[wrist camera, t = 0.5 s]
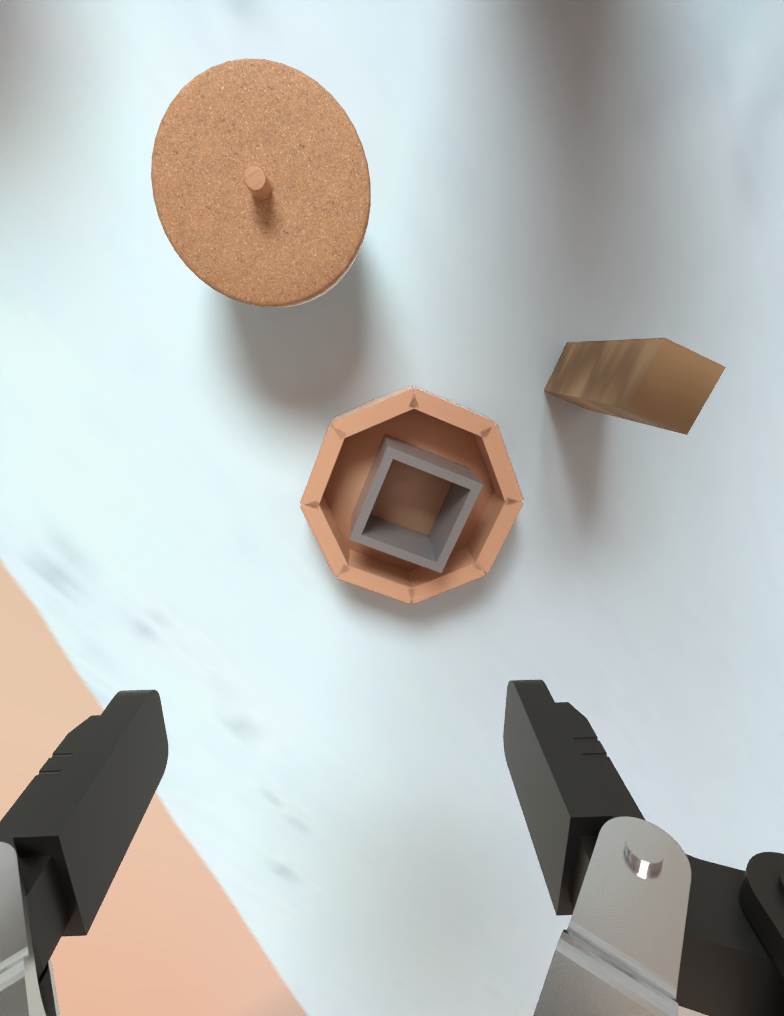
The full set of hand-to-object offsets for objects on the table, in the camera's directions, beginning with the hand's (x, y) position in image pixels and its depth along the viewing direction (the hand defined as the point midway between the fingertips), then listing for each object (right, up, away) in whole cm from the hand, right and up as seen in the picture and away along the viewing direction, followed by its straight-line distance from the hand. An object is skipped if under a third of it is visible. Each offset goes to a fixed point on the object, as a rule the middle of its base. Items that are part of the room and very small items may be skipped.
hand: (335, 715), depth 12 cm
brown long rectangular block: (+14, +14, +24) cm, 32 cm away
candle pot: (+2, +6, +26) cm, 27 cm away
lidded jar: (-6, +23, +21) cm, 31 cm away
